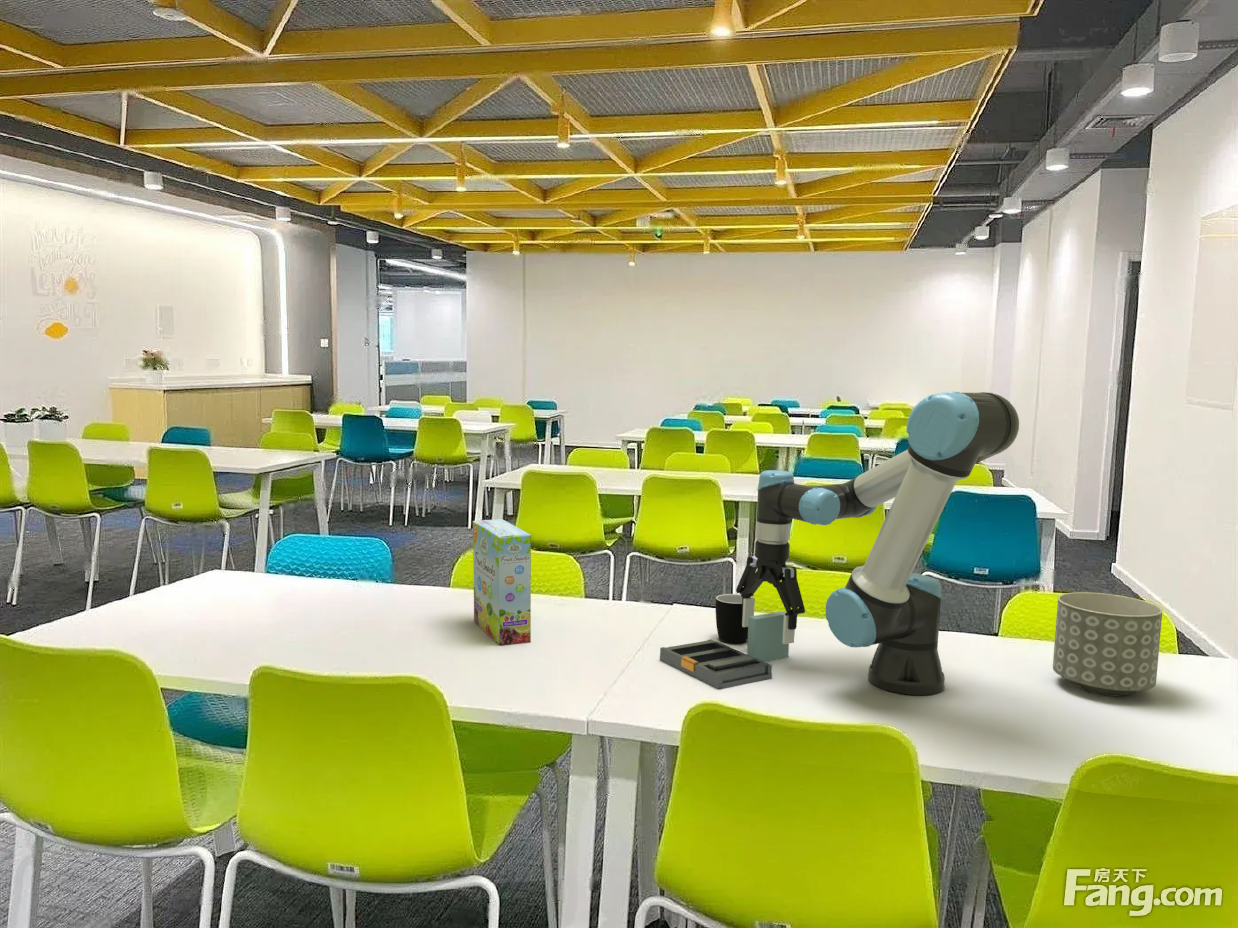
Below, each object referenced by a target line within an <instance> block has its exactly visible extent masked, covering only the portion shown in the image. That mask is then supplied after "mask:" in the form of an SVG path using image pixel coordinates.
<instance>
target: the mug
mask: <svg viewBox="0 0 1238 928" xmlns="http://www.w3.org/2000/svg"><path fill="white" fill-rule="evenodd" d="M742 619H743V611H742V597H741V594H740V593H725V594H723V593H722V594H719V595H717V596H716V597H715V623H716V630H717V631H716V632H717V635H718V638H719V640H720V641H721V642H723V643H725V644H731V645H741V644H745V643H746V642H748V627H742Z"/></svg>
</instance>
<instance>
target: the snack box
mask: <svg viewBox="0 0 1238 928" xmlns="http://www.w3.org/2000/svg"><path fill="white" fill-rule="evenodd" d="M531 543H532V534H530V533H528V532H526V531H525V530H523V529H521V528H520V527H517V526H516V525H514V524H512V523H511V522H509V521H506V520H504V519H503V518H498V519H497V518H496V519H481V520H472V544H473V545H472V547H473V549H472V551H473V552H472V553H473V622H475V623H476V624H477V625H478V626H479V627H480V628H481V629H482V630H483V631H484V632H485V633H486V634H487V635H488V636H489V637H490V638H491V639H492V640H494V642H496V644H497V645H498V646H507V645H509V646H510V645H516V644H524V643H532V641H531V640H532V639H531V637H532V636H531V634H532V633H531V632H532V630H531V629H532V628H531V627H532V626H531V621H532V620H531V619H532V617H531V613H532V610H531V609H532V608H531V606H532V605H531V603H532V601H531V598H532V597H531V596H532V594H531V591H532V589H531V587H532V586H531V583H532V582H531V580H532V578H531V577H532V575H531V571H532V569H531V566H532V565H531V564H532V561H531V560H532V558H531V557H532V556H531V555H532V554H531V553H532V548H531V546H532V544H531Z"/></svg>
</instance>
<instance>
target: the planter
mask: <svg viewBox="0 0 1238 928" xmlns="http://www.w3.org/2000/svg"><path fill="white" fill-rule="evenodd" d="M1056 606H1057V607H1056V618H1055V619H1056V620H1055V621H1056V622H1055V632H1054V634H1055V635H1054V647H1053V659H1052V669H1053V672H1055V674H1056V675H1058V676H1060V677H1062V678H1064V679H1066V680H1068V681H1069V682H1071V683H1072V684H1073V685H1075V686H1077V687H1078V688H1080V689H1082V690H1084V691H1086V692H1089V693H1092V694H1095V695H1101V696H1108V697H1109V696H1111V697H1112V696H1113V697H1116V696H1117V697H1119V696H1125V695H1130V694H1133V693H1136V692H1141V691H1147V690H1151V689H1153V688H1154V687H1156V685H1157V677H1158V666H1159V655H1160V653H1159V652H1160V643H1161V632H1162V621H1163V609H1162V608H1161V607H1160V606H1158V605H1156V604H1155V603H1152V602H1149V601H1147V600H1142V599H1139V598H1135V597H1131V596H1125V595H1124V596H1123V595H1119V594H1109V593H1102V592H1091V591H1089V592H1086V591H1085V592H1083V591H1081V592H1078V591H1077V592H1067V593H1063V594H1060V595H1059V596H1058V597H1057V605H1056Z"/></svg>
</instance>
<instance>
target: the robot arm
mask: <svg viewBox="0 0 1238 928" xmlns="http://www.w3.org/2000/svg"><path fill="white" fill-rule="evenodd" d="M1019 430H1020V419H1019V414H1018V412H1017V410H1016V408H1015V406H1014V405H1013V404H1012V403H1011V401H1009V400H1008V399H1007V398H1005V397H1003V396H1002V395H999V394H996V393H993V392H986V391H985V392H984V391H983V392H960V391H943V392H940V393H933V394H931V395H928V396H926V397H924V398H923V399H921V400H920V401H919V402H918V403H917V404H916V405H915V406H914V407H913V409H912V410H911V412H910V414H909V416H908V418H907V423H906V431H905V432H906V433H908V436H907V441H908V443H909V446H908V449H906V450H903V451H902V452H900V453H898V454H896V455H894V456H893V457H891V458H889V459H887V460H885V461H883V462H881V463H880V464H878V465H876V466H874V467H872V468H870V469H868V470H867V471H865V472H863V473H861V474H859V475H858V476H856V477H854V478H852V479H850V480H848V481H845V482H844V483H834V484H823V485H822V484H821V485H804V484H800V483H795V480H794V476H795V475H794V474H793V473H792V472H791V471H787V470H778V469H777V470H775V469H767V470H763V471H761V472H760V474H759V478H758V485H757V489H756V490H757V504H756V505H757V507H756V508H757V509H756V522H755V538H756V541H755V542H754V556H752V555H751V556H748V557H747V558H746V566H745V568H744V570H743V572H742V575H741V577H740V580H739V582H738V585H737V586H736V589H735V591H736V594H739V595H741V597H742V611H743V619H742V627H748V620H749V617H750V616H755V605H756V603H755V601H756V598H755V597H754V596H755V593H756V592H757V590H758V589H759V588H760V587H761V585H762V584H763V583H764V582H765V583H769V584H771V585H772V586H773V587H774V588H775V590H776V591H777V594H778V596H779V598H780V600H781V603H782V606H783V607H784V609H785V612H786V613H785V614H784V622H783V639H782V643H783V644H789V645H790V644H794V643H795V631H796V629H797V624H798V615H801V614H805V613H806V608H805V604H804V600H803V596H802V594H801V593H802V592H801V589H800V585H799V581H798V578H797V577H798V576H797V575H798V574H797V573H798V571H797V568H796V567H787V565H786V563H787V561H788V560H789V558H790V549H791V548H790V547H791V545H790V542H789V541H790V540H791V539H790V538H791V528H792V527H791V526H792V519H793V520H797V521H801V522H804V523H808V524H811V525H815V526H816V525H821V526H828V525H830V524H832V523H833V522H834V521H836V520H839V519H841V520H842V519H850V518H858V519H859V518H863V517H864V516H869V515H871V514H873V513H874V512H875V510H876V509H877V508H878V506H880V505H883V504H884V503H886V502H888V501H890V500H892V499H893V501H892V504H891V506H890V508H889V510H888V512H887V515H886V516H885V519H884V521H883V524H882V525H881V528H880V530H879V532H878V534H877V537H876V539H875V541H874V543H873V546H872V547H871V549H870V552H869V553H868V556H867V558H866V560H865V563H864V565H860V566H855V568H854V569H853V570H852V571H851V573H850V576H849V578H848V580H847V582H846V585H845V586H844V587H842V588H836V590H834V591H833V592H831V594H829V596H828V597H827V599H826V602H825V618H826V620H827V623H828V627H829V630H830V632H831V633H832V634H833V636H834V637H835V638H836V639H837V640H838V641H839V642H840V643H841V644H843V645H845V646H847V647H850V648H868V647H871V646H874V645H877V644H878V645H877V647H876V650H875V652H874V655H873V658H872V661H871V664H869V666H868V673H867V674H868V676H867V678H868V681H869V683H871V685H873V686H875V687H877V688H879V689H881V690H885V691H888V692H892V693H896V694H903V695H911V696H913V695H915V696H926V695H935V694H938V693H940V692H942V691H943V690H944V689H945V682H946V681H945V680H946V679H945V674H944V671H943V668H942V663H941V659H940V655H939V650H938V649H939V647H938V645H939V644H938V643H939V631H940V618H941V617H940V615H941V603H942V602H941V600H942V589H941V588H942V587H941V586H942V585H941V583H940V581H939V580H938V579H936V578H934V577H932V576H929V575H928V576H927V575H925V574H920V573H915V572H914V569H915V567H916V565H917V563H918V561H919V559H920V557H921V555H922V553H923V551H924V549H925V547H926V545H927V543H928V541H929V538H931V537H930V536H931V535H932V532H933V531H934V529H935V527H936V525H937V522H938V520H939V518H940V516H941V514H942V512H943V510H944V509H945V507H946V505H947V502H948V499H949V498H950V496H951V494H952V491H953V490H954V488H955V485H956V483H957V482H958V481H961V480H965V479H968V478H969V476H970V475H971V473H972V472H973V469H974V467H975V465H976V464H980V463H981V462H983V461H985V460H986V459H990V458H991V457H994V456H996V455H998V454H1001V453H1003V452H1004V451H1006V450H1008V449H1009V448H1010V447H1011V446H1012V445H1013V444H1014V442H1015V440H1016V438H1017V436H1018V435H1019V434H1018V433H1019Z"/></svg>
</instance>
